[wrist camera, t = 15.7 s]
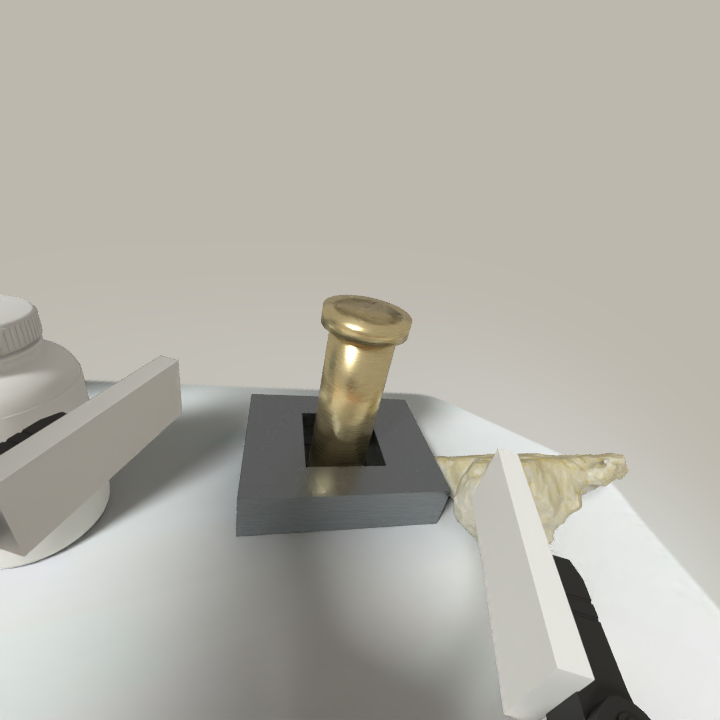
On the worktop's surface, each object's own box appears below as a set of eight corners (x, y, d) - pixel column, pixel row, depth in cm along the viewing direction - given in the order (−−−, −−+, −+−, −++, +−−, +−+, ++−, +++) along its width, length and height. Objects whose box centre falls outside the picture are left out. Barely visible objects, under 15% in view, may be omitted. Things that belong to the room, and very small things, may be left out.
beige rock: (397, 555, 27) (627, 607, 17) (389, 462, 29) (593, 460, 19) (480, 516, 38) (650, 534, 28) (470, 450, 40) (628, 444, 30)
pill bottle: (96, 454, 28) (52, 279, 21) (126, 523, 23) (83, 330, 16) (-50, 504, 22) (-177, 289, 15) (-47, 606, 18) (-223, 370, 11)
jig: (236, 536, 24) (236, 499, 22) (250, 425, 34) (251, 394, 32) (436, 523, 28) (451, 491, 26) (396, 428, 38) (404, 400, 36)
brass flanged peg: (286, 480, 29) (306, 309, 22) (319, 437, 35) (344, 289, 27) (353, 511, 28) (399, 339, 20) (376, 461, 33) (420, 311, 26)
